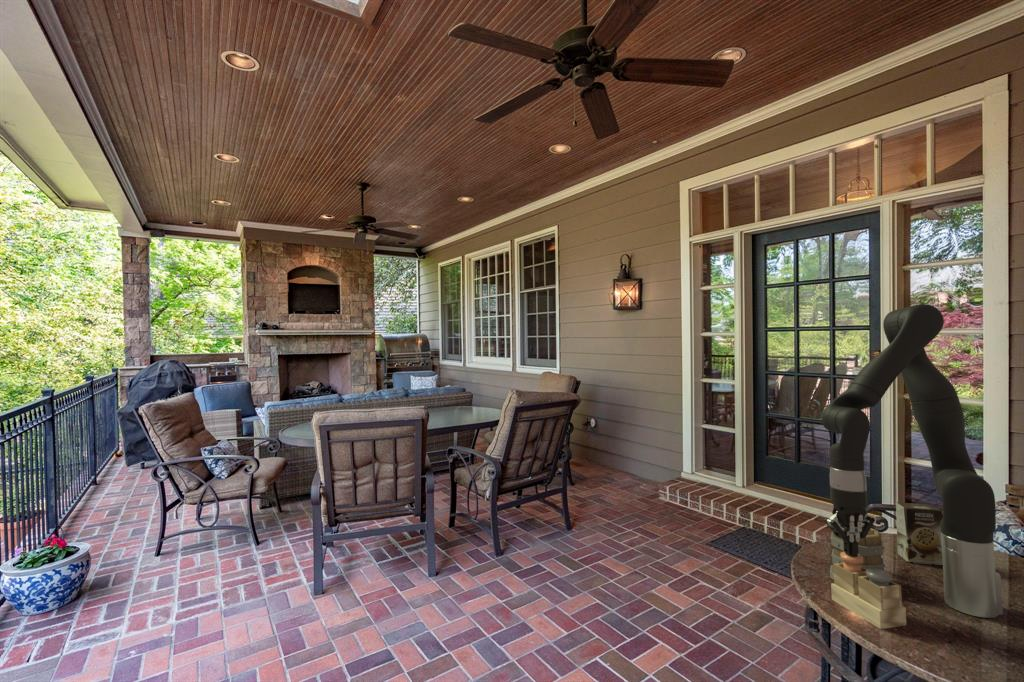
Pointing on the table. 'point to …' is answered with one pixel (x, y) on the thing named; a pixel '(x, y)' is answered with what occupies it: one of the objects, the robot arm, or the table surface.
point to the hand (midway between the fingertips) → (851, 555)
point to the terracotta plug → (852, 562)
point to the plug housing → (868, 598)
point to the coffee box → (919, 533)
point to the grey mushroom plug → (878, 577)
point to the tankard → (861, 551)
